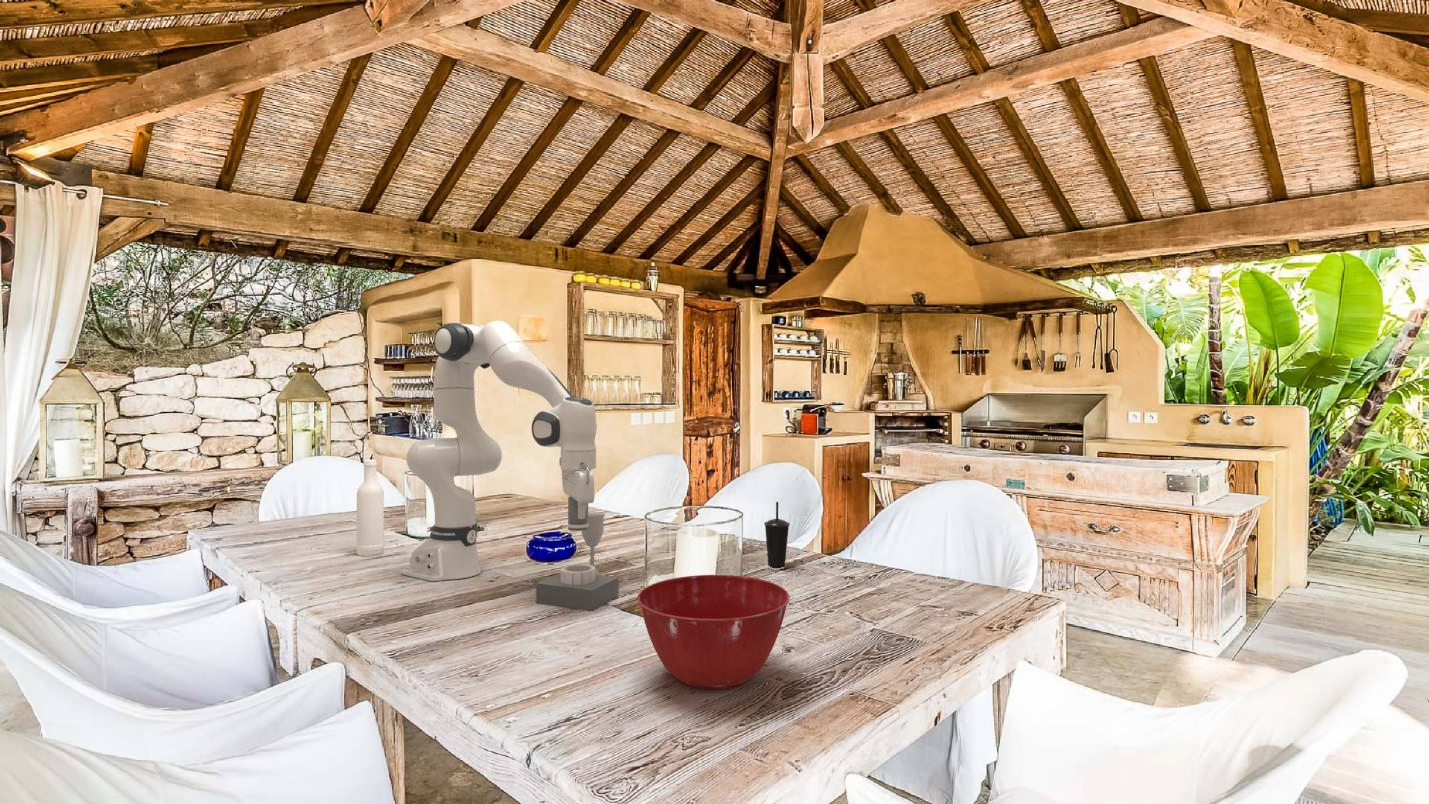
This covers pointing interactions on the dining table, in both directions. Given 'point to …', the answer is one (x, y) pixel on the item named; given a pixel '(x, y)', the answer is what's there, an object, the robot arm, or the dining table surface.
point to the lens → (573, 521)
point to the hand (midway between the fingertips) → (578, 516)
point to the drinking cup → (776, 541)
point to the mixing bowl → (713, 626)
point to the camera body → (577, 588)
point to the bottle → (370, 513)
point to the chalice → (594, 533)
